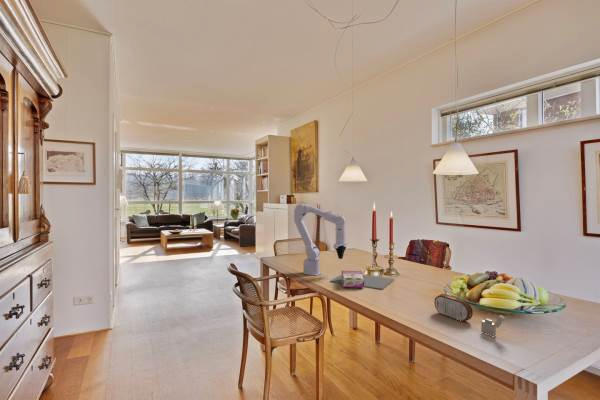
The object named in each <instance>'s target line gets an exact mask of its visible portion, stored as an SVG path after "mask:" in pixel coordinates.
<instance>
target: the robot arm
mask: <svg viewBox="0 0 600 400" xmlns="http://www.w3.org/2000/svg"><path fill="white" fill-rule="evenodd" d="M293 212H294V214H293V221H294V224H295V226H296V229H297V230H298V233H299V235H300V237H301V239H302V242H303V243H304V246H305V253H306V257H307V258H305V259H304V261H303V265H302V266H303V272H302V274H303V275H307V276H308V275H310V276H318V275H320V274H322V273H323V272H322V271H320V255H321V251H320V249H319V248H318V247H317V245H316V244H315V243H314V241H313V240H312V236H311V235H310V233H309V230H308V228H307V226H306V224H305V221H304V218H305V216H306V215H307V214H309V213H311V214H314V215H317V216H319V217H323V220H324V221H327V222H329V223H331V224H335V243H334V244H333V249H335V251H336V254H337V258H338V259H339V260H342V259H343V258H344V254H345V251H346V248H347V246H348V242H347V241H346V222H347V220H346V217H344V216H343V215H340V214H337V213H334V212H333V211H332V210H327V211H324V210H321V209H320V208H317V207H315V206H312V205H309V204H306V203H303V204H301V203H300V204H297V205H296V206H295V207H294V210H293Z"/></svg>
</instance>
